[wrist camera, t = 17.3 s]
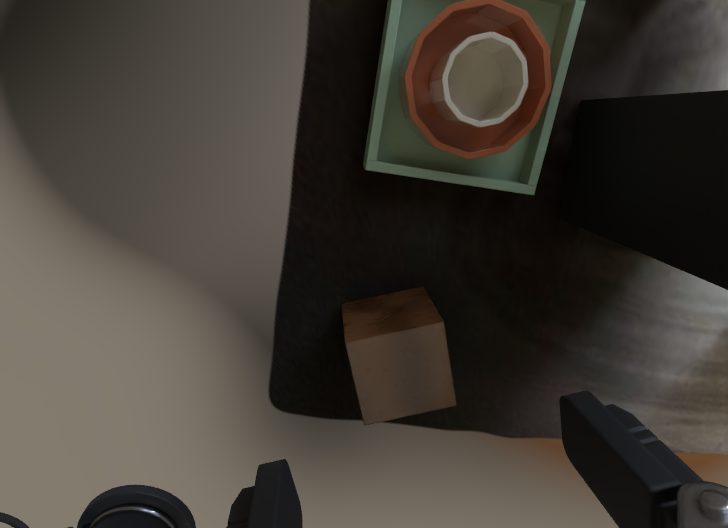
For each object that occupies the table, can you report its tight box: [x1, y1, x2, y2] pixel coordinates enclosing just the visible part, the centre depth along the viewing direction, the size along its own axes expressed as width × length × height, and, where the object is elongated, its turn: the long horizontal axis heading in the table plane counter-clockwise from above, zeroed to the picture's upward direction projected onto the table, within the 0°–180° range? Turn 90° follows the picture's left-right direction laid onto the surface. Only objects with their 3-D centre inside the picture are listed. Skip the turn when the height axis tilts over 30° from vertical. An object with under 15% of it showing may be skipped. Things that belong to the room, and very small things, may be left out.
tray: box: [363, 0, 586, 195], centre depth 36 cm, size 16×15×3 cm
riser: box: [342, 286, 457, 425], centre depth 40 cm, size 8×8×8 cm
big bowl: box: [398, 0, 552, 159], centre depth 35 cm, size 11×11×4 cm
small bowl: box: [429, 32, 528, 127], centre depth 34 cm, size 6×6×4 cm
